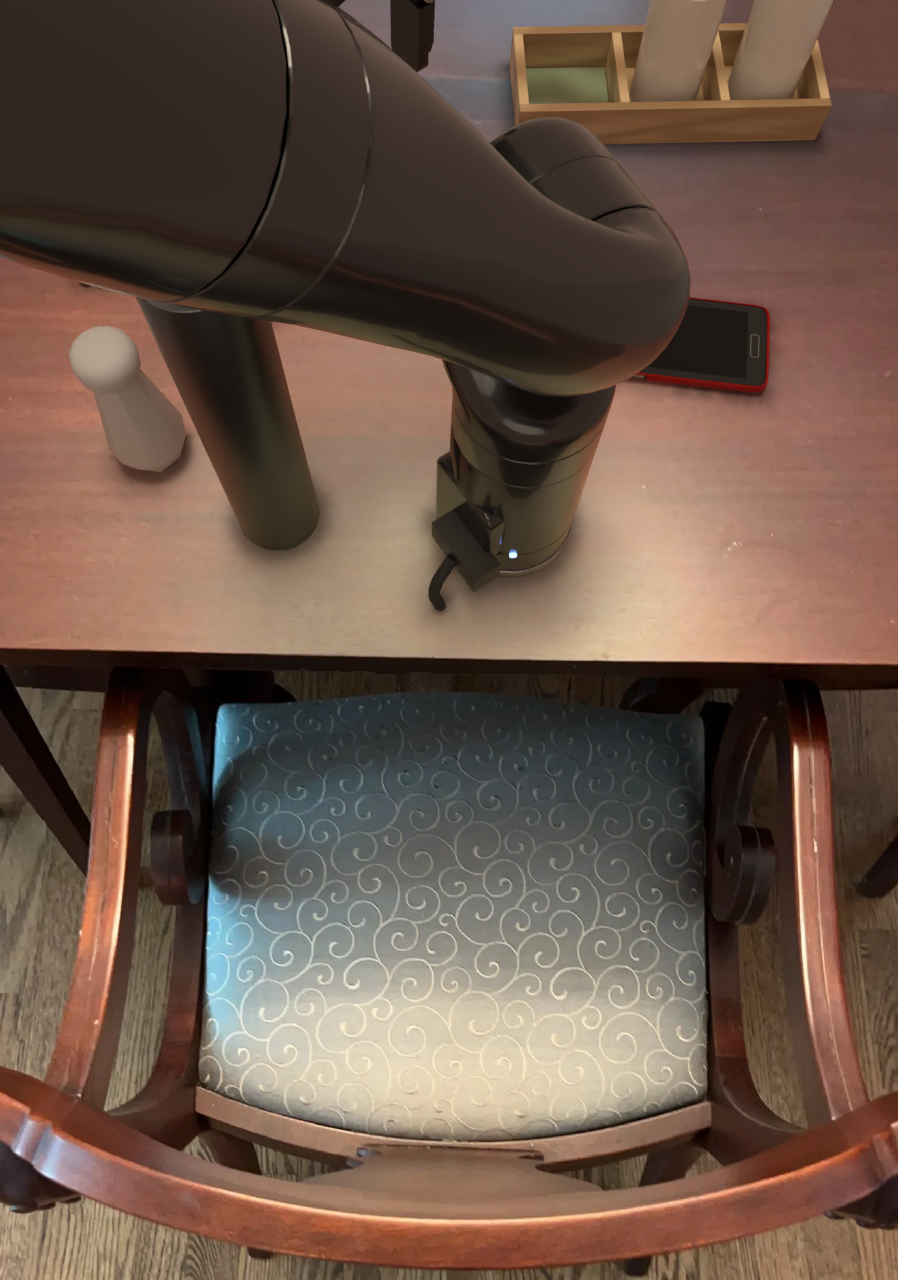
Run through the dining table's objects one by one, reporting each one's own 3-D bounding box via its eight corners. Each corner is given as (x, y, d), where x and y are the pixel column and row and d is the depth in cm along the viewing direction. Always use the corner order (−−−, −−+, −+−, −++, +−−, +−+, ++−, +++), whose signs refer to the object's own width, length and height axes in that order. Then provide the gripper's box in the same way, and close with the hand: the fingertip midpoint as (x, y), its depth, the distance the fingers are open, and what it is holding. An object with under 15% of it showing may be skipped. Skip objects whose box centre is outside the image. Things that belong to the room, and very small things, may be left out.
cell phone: (765, 395, 75) (769, 389, 74) (579, 374, 75) (581, 367, 74) (767, 313, 77) (771, 305, 76) (587, 292, 78) (589, 284, 77)
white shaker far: (751, 134, 82) (808, -9, 70) (709, 91, 84) (757, -57, 71) (802, 105, 83) (867, -40, 71) (759, 63, 85) (815, -87, 72)
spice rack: (813, 144, 83) (832, 105, 79) (515, 150, 82) (520, 111, 78) (796, 63, 86) (814, 21, 82) (509, 68, 85) (512, 26, 81)
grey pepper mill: (265, 565, 70) (148, 298, 41) (224, 503, 72) (82, 204, 42) (334, 523, 71) (268, 235, 42) (292, 463, 73) (199, 145, 44)
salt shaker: (110, 425, 73) (45, 320, 61) (183, 406, 74) (133, 298, 62) (125, 491, 72) (61, 396, 59) (200, 471, 72) (152, 373, 60)
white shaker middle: (655, 136, 82) (695, -7, 70) (614, 93, 84) (646, -55, 71) (707, 107, 83) (755, -39, 71) (666, 65, 85) (706, -86, 72)
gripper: (403, -415, 36) (404, -4, 51) (87, -269, 33) (189, 124, 48) (538, -314, 35) (497, 78, 50) (221, -150, 31) (281, 217, 46)
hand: (346, 100), depth 49 cm, fingers open, 8 cm apart
